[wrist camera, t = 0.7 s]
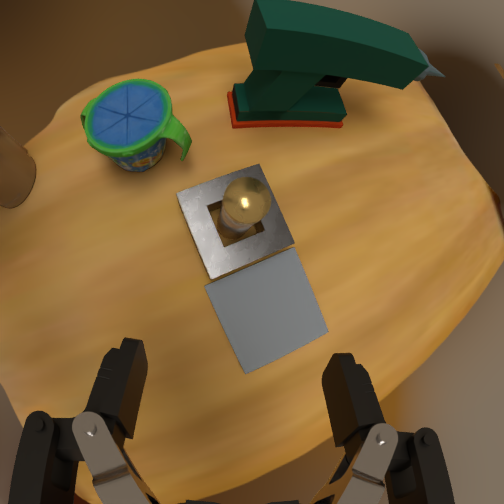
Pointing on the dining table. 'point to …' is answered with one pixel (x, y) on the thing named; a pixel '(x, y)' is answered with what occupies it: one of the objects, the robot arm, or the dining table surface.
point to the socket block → (206, 236)
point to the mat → (267, 310)
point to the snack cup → (133, 124)
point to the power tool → (316, 63)
